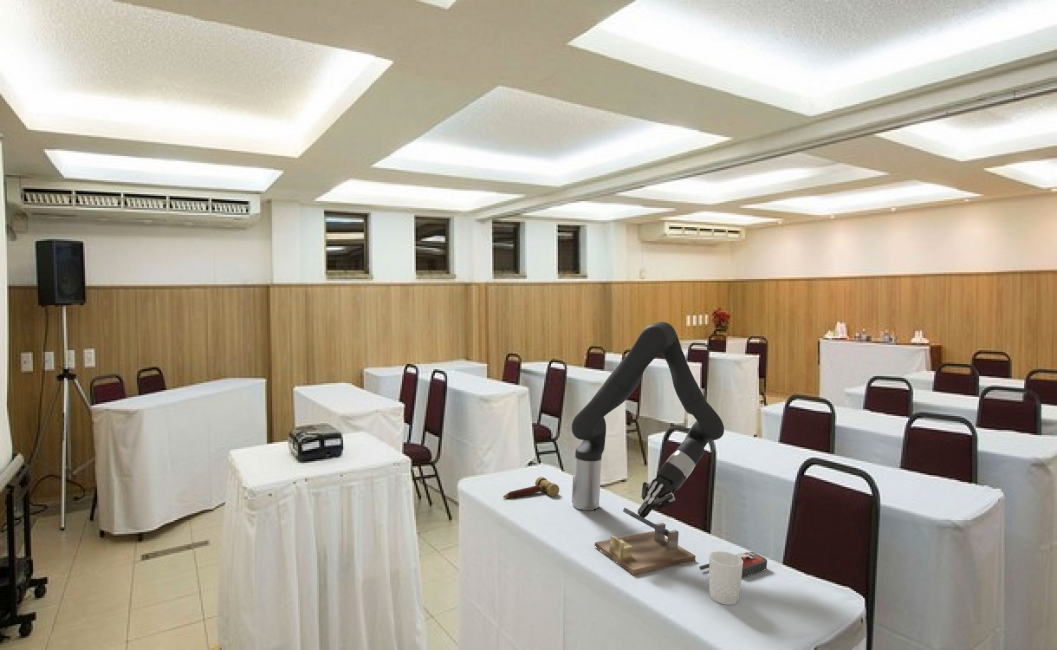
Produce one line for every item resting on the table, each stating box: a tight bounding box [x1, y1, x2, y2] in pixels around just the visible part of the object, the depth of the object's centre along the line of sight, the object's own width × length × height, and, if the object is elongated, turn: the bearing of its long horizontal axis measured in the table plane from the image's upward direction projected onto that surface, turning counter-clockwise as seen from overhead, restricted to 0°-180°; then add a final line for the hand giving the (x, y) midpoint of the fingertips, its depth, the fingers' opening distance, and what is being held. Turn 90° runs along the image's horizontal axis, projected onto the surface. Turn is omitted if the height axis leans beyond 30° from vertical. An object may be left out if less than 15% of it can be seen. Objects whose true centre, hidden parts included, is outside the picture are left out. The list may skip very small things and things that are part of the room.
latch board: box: [594, 522, 696, 576], centre depth 162 cm, size 18×22×6 cm
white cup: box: [708, 551, 743, 606], centre depth 139 cm, size 8×8×10 cm
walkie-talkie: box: [698, 551, 768, 579], centre depth 155 cm, size 9×4×20 cm
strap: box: [622, 507, 670, 538], centre depth 162 cm, size 4×18×2 cm
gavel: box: [502, 476, 560, 499], centre depth 207 cm, size 21×5×10 cm
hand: (640, 515), depth 160 cm, fingers closed
